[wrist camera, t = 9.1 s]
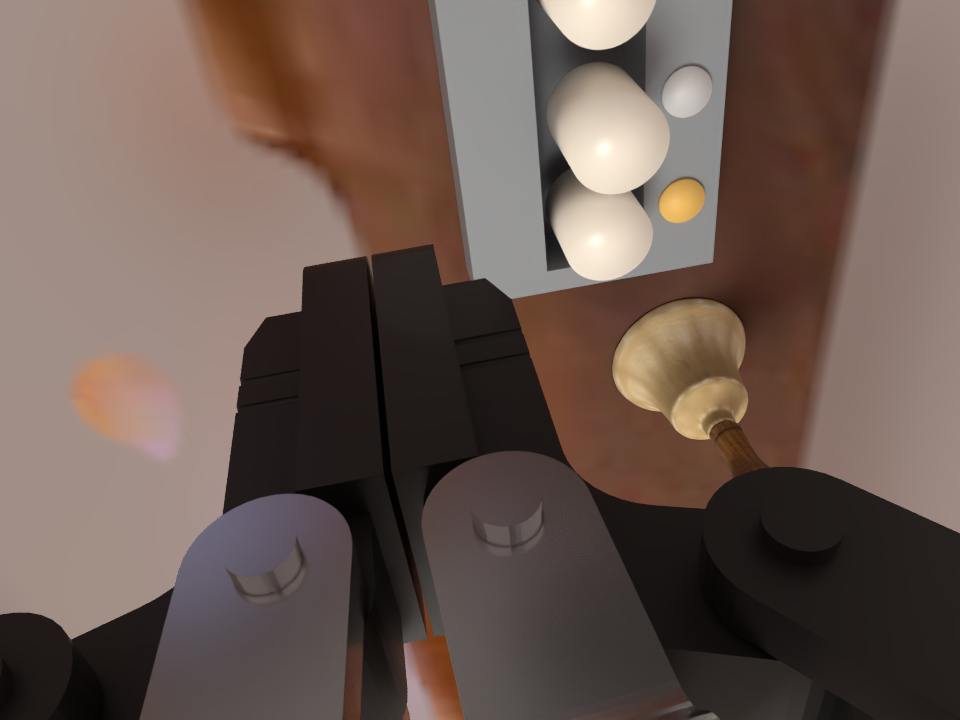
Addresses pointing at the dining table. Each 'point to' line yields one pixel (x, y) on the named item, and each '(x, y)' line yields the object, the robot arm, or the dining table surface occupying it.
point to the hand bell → (690, 374)
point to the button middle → (607, 128)
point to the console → (536, 156)
